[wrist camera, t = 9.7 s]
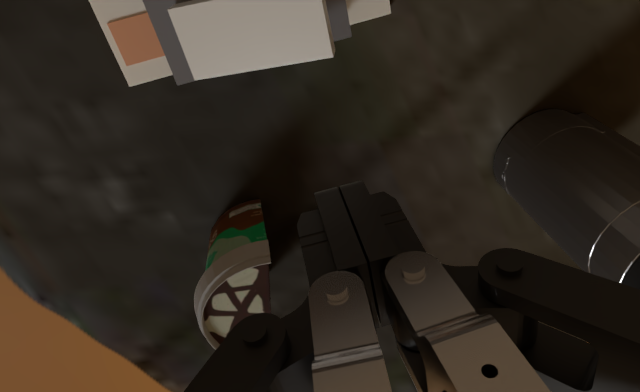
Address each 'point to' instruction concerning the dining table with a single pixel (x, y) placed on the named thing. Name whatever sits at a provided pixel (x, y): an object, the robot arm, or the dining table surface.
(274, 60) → the rocker
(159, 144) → the dining table surface
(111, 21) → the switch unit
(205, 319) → the food container
